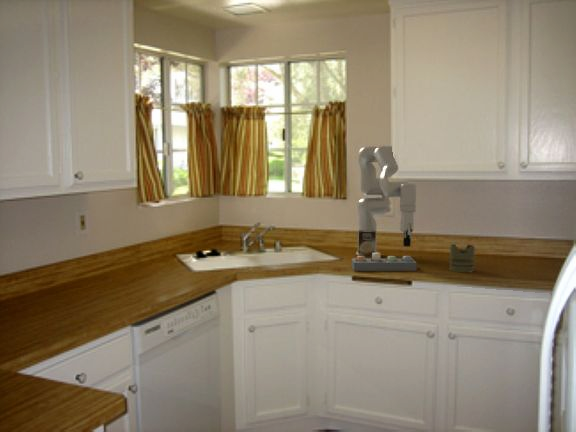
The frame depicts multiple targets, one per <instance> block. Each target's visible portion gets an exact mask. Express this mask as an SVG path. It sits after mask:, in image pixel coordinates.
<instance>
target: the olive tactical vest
mask: <svg viewBox="0 0 576 432" xmlns="http://www.w3.org/2000/svg"><path fill="white" fill-rule="evenodd" d="M449 248H450V250H449V258H451V259H449V271H450V270H451V272H453V271H456V272H455V273H460V272H470V271H474V272H475V260H474V259H475V255H476V254H475V253H476V251H475V249H476V248H475V245H473V244H466V247H465V248H458V246H456V243H455V244H453V243H452V244H450V246H449ZM470 273H471V272H470Z"/></svg>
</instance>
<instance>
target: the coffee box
mask: <svg viewBox="0 0 576 432" xmlns="http://www.w3.org/2000/svg"><path fill="white" fill-rule="evenodd" d="M357 232H358V235H357V236H358V237H357V238H358V239H357V252H358V255H357V256H365V258H372V253H375V247H376V248H377V230H376V231H373V230H359V229H358V231H357Z"/></svg>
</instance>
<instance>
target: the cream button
mask: <svg viewBox="0 0 576 432" xmlns="http://www.w3.org/2000/svg"><path fill="white" fill-rule="evenodd" d="M381 254H382V253H381V252H379V253H372V261H380V260H381V256H382V255H381Z"/></svg>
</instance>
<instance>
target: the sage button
mask: <svg viewBox="0 0 576 432" xmlns="http://www.w3.org/2000/svg"><path fill="white" fill-rule="evenodd" d="M387 258H388V261H396V258H397V257H396V256H395V255H388V256H387Z"/></svg>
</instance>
